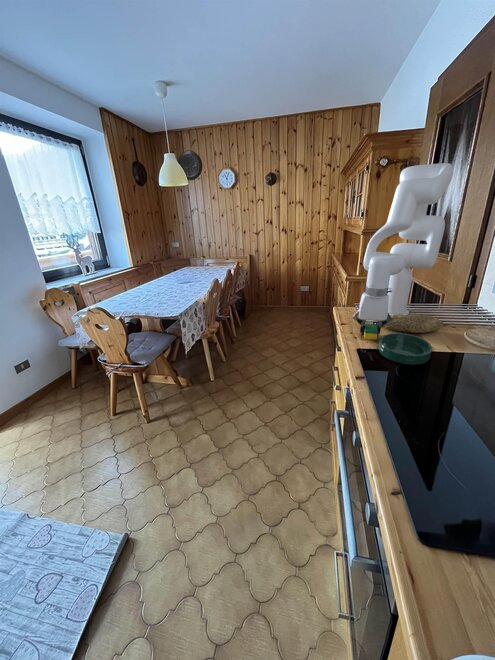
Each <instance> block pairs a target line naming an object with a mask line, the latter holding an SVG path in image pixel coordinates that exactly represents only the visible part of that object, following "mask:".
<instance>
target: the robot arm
mask: <svg viewBox="0 0 495 660" xmlns="http://www.w3.org/2000/svg"><path fill="white" fill-rule="evenodd" d="M453 176H454V166H453V165H452V163H450V162H449V163H448V162H441V163H430V164H417V165H412V166H407V167H405V168H404V169H402V170H401V171H400V174H399V184H398V185H397V186H396V188H395V192H394V196H393V199H392V203H391V205H390V209H389V212H388V213H389V214H388V217H387V220H386V222H385V224H384V225H382V227H380V228H379V229H378V230H377V231H376V232H375V233H374V234H373V235H372V237H371V238H370V239H369V242H368V243H367V246H366V249H365V253H364V257H363V262H362V265H363V268H364V269H365V271H366V272H367V276H366V283H365V289H364V290H365V292H362V294H361V297H360V301H359V305H358V310H357V311H356V312H355V313H353V315H352V319H353V320H354V321H356V322H357V323H358V324H359V325H360V327H359V333H360V334H361V336H363V337H364V331H365V323H366V321H377V324H376V327H377V330H378V334H377V338H379V335H380V334H381V331H382V328H383V327H384V326H385V324H386V323H388V322H390V321H392V317H391V316H390V315H397V314H402V315H408V314H410V311H409V310H408V309H407V307H408V301H409V296H410V293H411V289H412V288H411V287H412V282H413V273H412V270H411V269H410V268H416V269H424V270H425V269H426V270H427V269H431V268H433V267H434V266H435V264H436V262H437V259H438V256H439V252H440V248H441V244H442V241H443V237H444V233H445V229H446V228H445V227H446V220H445V218H444V217H443V216H441V215H432V214H431V215H429V214H428V215H427V212H428V208H429V205H434V204H436V203H438V202H439V201H440V199H441V198H442V196H443V195H444V193H445V191H446V190H447V188H448V187H449V186H450V183H451V181H452V179H453ZM396 234H398V237H399V238H401V239H402V240H407V241H422V242H423V241H425V242H426V244H425V243H414V242H413V243H412V242H399V243H396V244H393V246H392V247H391V248H390V251H389V252H384V251H383V252H382V251H377V249H378V247H379V245H380V244H381V243H382V242H383V241H384V240H385V239H388V238H389V237H391V236H393V235H396Z"/></svg>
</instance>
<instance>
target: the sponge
mask: <svg viewBox="0 0 495 660" xmlns="http://www.w3.org/2000/svg"><path fill="white" fill-rule="evenodd" d="M390 316H391V317H392V321H390V322H388V323H386V324H385V325H384V328H385V329H387V330H389V331H396V332H403V333H411V334H412V333H414V334H426V333H430V332H438V331H440V330H442V329H443V328H444V324H445V322H444V321H442V320H440V318H438V317H435V316H431V315H427V314H421V313H409V314H408V315H402V314H397V315H390Z"/></svg>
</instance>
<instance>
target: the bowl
mask: <svg viewBox="0 0 495 660" xmlns="http://www.w3.org/2000/svg"><path fill="white" fill-rule="evenodd" d="M377 347H378V352H379V354H381V356H383V357H384V358H386V359H388V360H390V361H392V362H395V363H398V364H403V365H411V366H412V365H414V366H416V365H422V364H426V363H427V362H429V361H430V360H431V357H432V352H433V346H432V344H431V343H430V342H429V341H428V340H426V339H424V338H422V337H420V336H417V335H414V334H409V333H404V332H403V333H401V332H400V333H399V332H392V333H387V334H384V335H382V336H381V337H380V338H379V341H378V346H377Z"/></svg>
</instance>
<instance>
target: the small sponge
mask: <svg viewBox="0 0 495 660" xmlns="http://www.w3.org/2000/svg"><path fill="white" fill-rule="evenodd" d="M376 325H377V324H376V323H368V322H367V323H366V322H365V331H364V335H363V339H365V340H378V337H377V334H378V330H377V327H376ZM378 335H379V334H378Z"/></svg>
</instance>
